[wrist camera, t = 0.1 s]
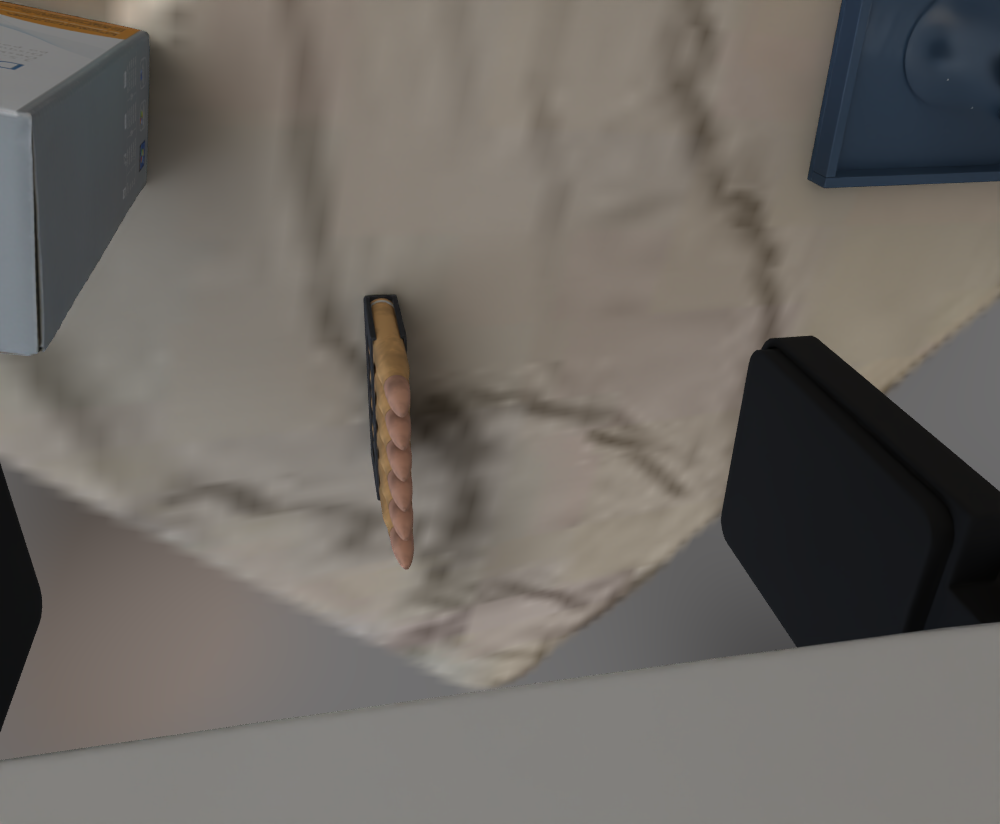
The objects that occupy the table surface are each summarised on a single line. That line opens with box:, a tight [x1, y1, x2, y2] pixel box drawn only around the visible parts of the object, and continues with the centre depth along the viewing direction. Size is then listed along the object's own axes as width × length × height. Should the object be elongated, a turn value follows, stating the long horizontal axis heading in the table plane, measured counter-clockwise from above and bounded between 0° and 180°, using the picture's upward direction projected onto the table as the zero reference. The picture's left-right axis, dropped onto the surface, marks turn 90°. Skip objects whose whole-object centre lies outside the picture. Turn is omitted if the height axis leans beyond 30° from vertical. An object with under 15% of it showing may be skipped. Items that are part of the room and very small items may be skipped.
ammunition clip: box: [364, 295, 414, 569], centre depth 46 cm, size 11×2×12 cm, turn 178°
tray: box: [808, 0, 1000, 188], centre depth 47 cm, size 14×14×2 cm
